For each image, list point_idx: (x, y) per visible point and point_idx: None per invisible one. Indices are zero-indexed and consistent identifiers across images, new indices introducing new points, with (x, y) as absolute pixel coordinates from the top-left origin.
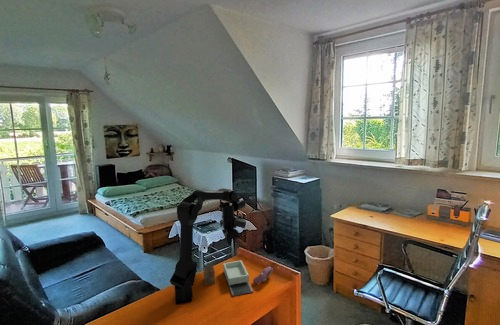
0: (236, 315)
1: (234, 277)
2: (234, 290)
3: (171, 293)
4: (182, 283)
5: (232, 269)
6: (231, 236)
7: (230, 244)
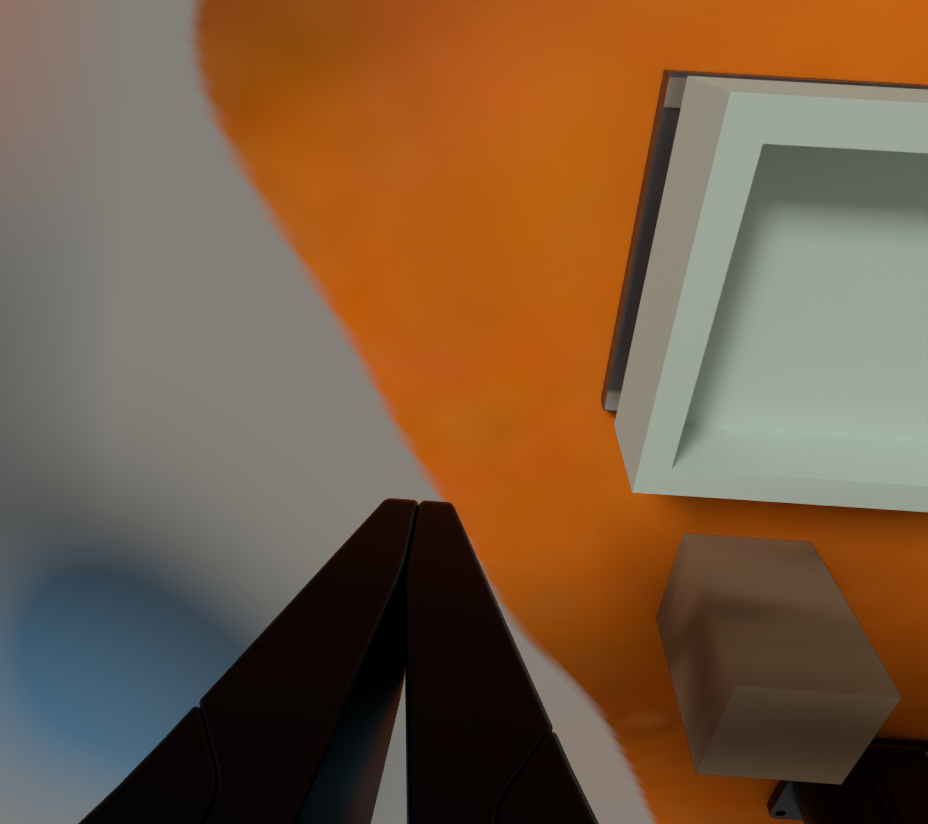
0: None
1: None
2: None
3: (713, 815)
4: None
5: (783, 329)
6: None
7: (457, 532)
